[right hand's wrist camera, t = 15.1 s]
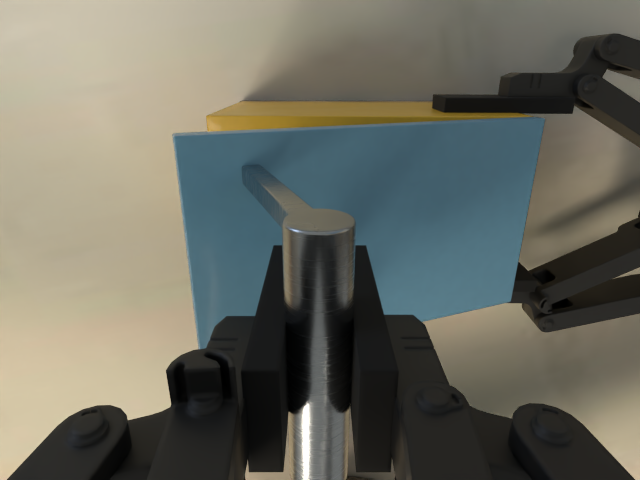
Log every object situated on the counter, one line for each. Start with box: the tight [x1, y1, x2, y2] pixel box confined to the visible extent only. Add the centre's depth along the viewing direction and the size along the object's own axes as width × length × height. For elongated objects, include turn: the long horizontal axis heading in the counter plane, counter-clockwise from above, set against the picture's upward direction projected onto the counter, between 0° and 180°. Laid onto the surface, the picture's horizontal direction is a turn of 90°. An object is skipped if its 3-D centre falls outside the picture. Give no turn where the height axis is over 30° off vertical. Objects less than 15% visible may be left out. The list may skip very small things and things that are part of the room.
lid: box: [173, 117, 545, 480], centre depth 16 cm, size 16×10×8 cm, turn 90°
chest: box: [206, 101, 533, 132], centre depth 27 cm, size 16×10×10 cm, turn 90°
